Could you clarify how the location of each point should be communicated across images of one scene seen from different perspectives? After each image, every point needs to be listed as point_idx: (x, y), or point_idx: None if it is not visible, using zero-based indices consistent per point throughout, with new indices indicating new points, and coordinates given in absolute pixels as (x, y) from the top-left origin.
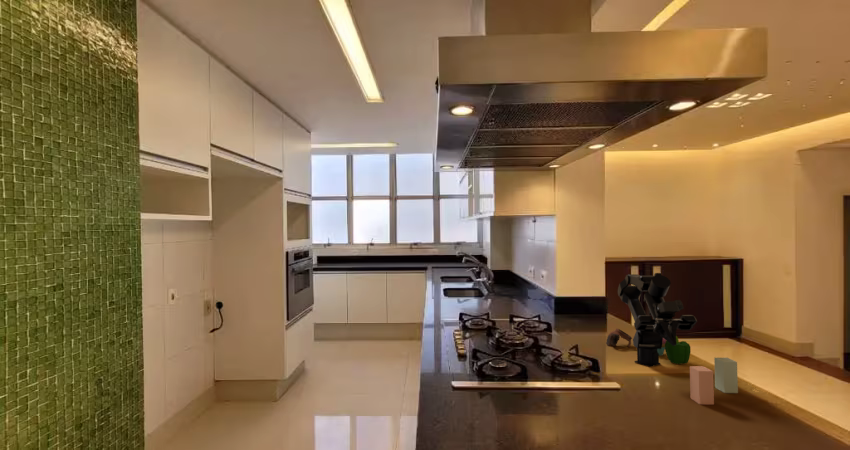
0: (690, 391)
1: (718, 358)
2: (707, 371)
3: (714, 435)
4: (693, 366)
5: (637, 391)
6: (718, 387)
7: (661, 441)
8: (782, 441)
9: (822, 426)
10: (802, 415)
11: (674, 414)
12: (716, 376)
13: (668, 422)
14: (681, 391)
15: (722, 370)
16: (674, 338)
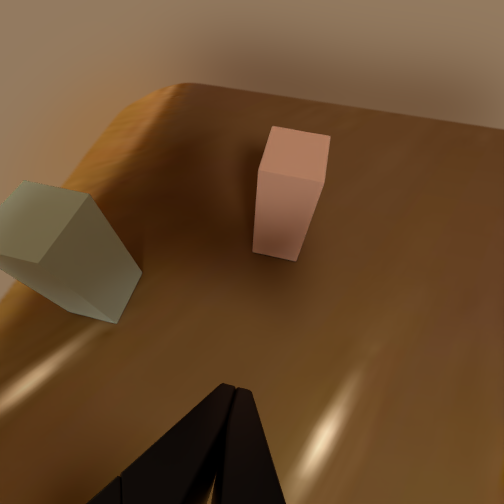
0: (300, 248)
1: (38, 243)
2: (294, 130)
3: (376, 124)
4: (308, 177)
5: (457, 363)
6: (123, 300)
7: (486, 128)
8: (274, 96)
9: (142, 109)
10: (115, 140)
11: (408, 195)
12: (100, 295)
13: (442, 171)
14: (279, 323)
15: (105, 233)
16: (202, 430)
